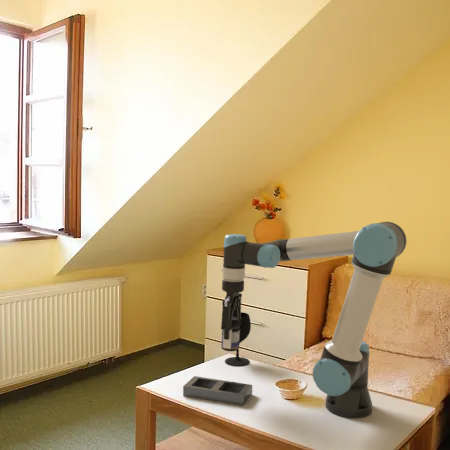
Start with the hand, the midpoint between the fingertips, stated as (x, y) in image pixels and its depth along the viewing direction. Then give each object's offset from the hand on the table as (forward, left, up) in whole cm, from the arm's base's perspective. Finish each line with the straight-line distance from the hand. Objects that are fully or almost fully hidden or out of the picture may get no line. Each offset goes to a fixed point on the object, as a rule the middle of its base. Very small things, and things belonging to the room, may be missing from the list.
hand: (230, 344), depth 181 cm
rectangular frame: (+4, +1, -18) cm, 18 cm away
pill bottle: (0, 0, -2) cm, 2 cm away
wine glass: (+8, -33, -18) cm, 39 cm away
